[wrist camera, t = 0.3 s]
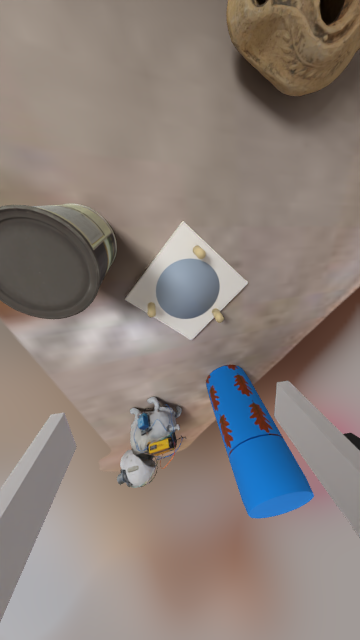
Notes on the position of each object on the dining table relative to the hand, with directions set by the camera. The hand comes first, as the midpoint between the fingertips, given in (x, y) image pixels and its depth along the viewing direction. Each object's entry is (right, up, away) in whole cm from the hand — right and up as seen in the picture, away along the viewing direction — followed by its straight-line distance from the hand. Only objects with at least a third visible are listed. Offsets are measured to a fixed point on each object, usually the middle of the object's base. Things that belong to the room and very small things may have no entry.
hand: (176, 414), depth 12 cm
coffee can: (-15, +18, +17) cm, 29 cm away
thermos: (+12, -10, +39) cm, 42 cm away
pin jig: (+2, +12, +24) cm, 27 cm away
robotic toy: (-8, -20, +42) cm, 47 cm away
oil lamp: (+12, +37, +10) cm, 40 cm away
